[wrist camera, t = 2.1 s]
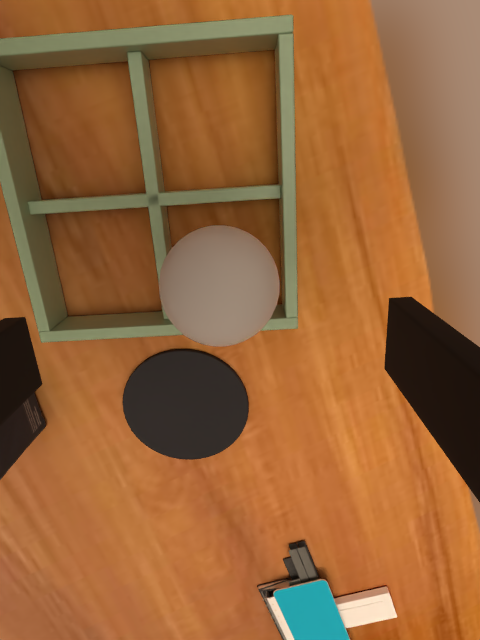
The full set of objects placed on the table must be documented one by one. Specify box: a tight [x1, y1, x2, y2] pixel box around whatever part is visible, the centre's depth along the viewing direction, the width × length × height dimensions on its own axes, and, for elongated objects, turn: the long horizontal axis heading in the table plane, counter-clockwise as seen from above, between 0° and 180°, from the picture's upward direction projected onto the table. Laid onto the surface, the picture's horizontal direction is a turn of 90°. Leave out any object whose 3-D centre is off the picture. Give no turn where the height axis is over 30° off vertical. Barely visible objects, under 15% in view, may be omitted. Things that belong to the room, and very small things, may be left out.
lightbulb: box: [159, 225, 280, 346], centre depth 23 cm, size 6×6×11 cm
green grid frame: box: [0, 15, 298, 342], centre depth 25 cm, size 17×17×3 cm
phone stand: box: [257, 541, 397, 640], centre depth 39 cm, size 20×12×2 cm, turn 20°
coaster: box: [123, 349, 248, 459], centre depth 32 cm, size 10×10×1 cm
